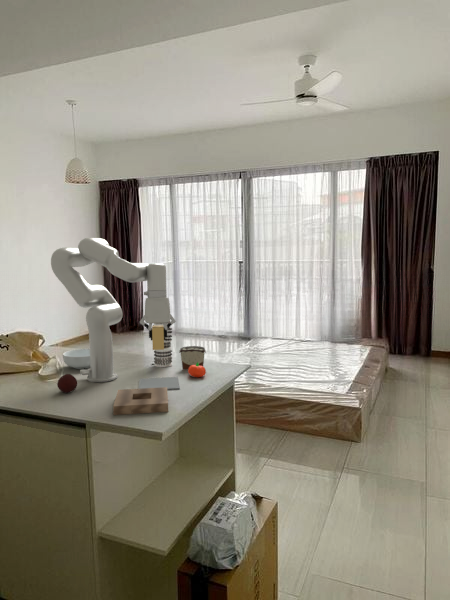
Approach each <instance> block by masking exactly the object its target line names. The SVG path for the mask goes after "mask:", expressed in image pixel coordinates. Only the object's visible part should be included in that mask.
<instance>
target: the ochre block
mask: <svg viewBox="0 0 450 600" xmlns="http://www.w3.org/2000/svg"><path fill="white" fill-rule="evenodd" d="M151 328H152V340H151V341H152V343H151V344H152V351H155V350H164V326H153V325H152V327H151Z"/></svg>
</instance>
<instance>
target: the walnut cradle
mask: <svg viewBox="0 0 450 600" xmlns="http://www.w3.org/2000/svg"><path fill="white" fill-rule="evenodd" d="M112 405H113V406H112V408H113V409H112V410H113V413H112V414H113V416H120V415H123V416H124V415H137V414H155V413H168V412H169V396H168V390H167V387H161V388H142V389H138V388H127V389H122V388H121V389H117V392H116V396H115V399H114V402H113V404H112Z"/></svg>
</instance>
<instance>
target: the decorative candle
mask: <svg viewBox="0 0 450 600" xmlns="http://www.w3.org/2000/svg"><path fill="white" fill-rule="evenodd" d="M168 323H169V322H168ZM168 323H167V324H168ZM152 326H164V324H163V323H153V324H152ZM172 330H173V328H172V327H171V326H170V327H169V328H168V329H167V337H165V340H164V350H153V352H154V354H153V356H154V357H153V359H154V361H153V362H154V364H153V365H154V367H157V368H167V367H172V366H173V357H172V355H173V353H172V352H173V350H172V346H171V345H172V343H171V342H172V341H173V338H172V337H173V335H172V333H173V331H172Z"/></svg>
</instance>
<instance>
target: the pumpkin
mask: <svg viewBox="0 0 450 600" xmlns="http://www.w3.org/2000/svg"><path fill="white" fill-rule="evenodd" d="M187 372H188V374H189V376H191V377H193V378H196V377H197V378H202V377H204V376H205V375H206V374H207V371H206V368H205V367H204V365H203V366H199V364H198V363H197V364H196V365H191V366H190V367H189V370H187Z"/></svg>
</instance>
